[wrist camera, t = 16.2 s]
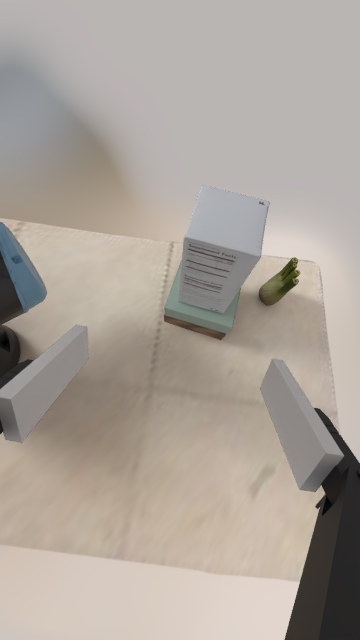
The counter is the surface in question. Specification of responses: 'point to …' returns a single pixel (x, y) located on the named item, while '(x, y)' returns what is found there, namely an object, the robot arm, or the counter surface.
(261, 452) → the counter surface
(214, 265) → the supplement box
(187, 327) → the tower base
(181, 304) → the tower top
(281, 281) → the fennel bulb
